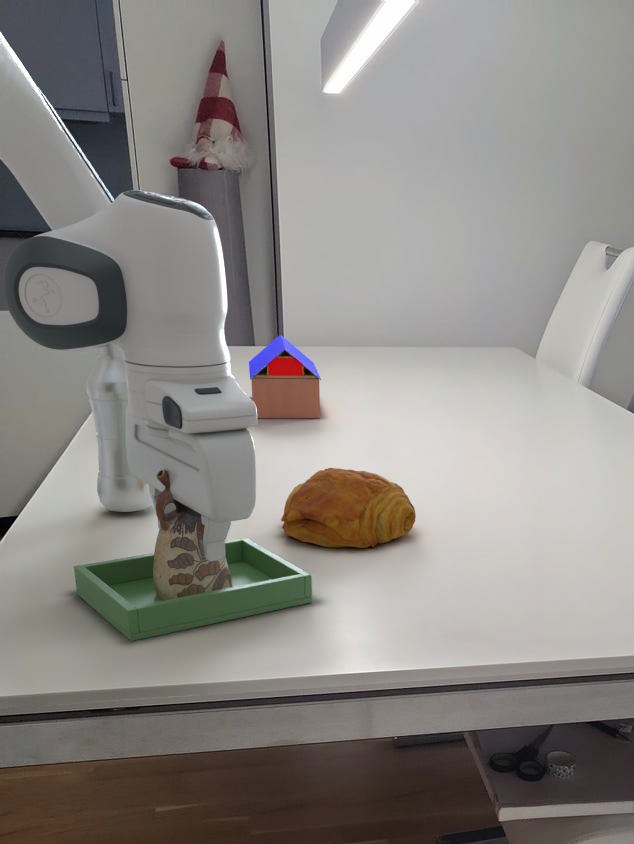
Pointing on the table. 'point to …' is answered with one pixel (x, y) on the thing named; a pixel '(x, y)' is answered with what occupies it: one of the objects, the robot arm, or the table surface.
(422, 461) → the table surface
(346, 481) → the croissant
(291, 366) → the house
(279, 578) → the green tray
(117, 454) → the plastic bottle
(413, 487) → the table surface
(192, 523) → the figurine
